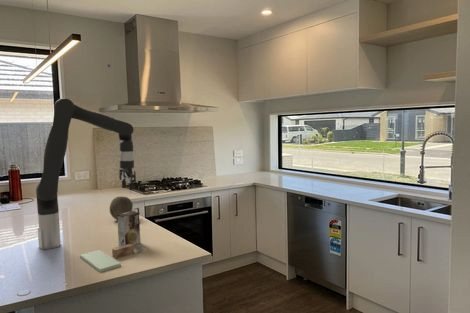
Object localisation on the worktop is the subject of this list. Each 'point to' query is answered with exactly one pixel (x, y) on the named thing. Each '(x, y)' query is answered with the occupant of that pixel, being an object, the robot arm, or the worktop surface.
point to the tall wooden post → (126, 250)
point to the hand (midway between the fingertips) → (127, 188)
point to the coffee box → (128, 228)
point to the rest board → (100, 260)
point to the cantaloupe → (120, 206)
